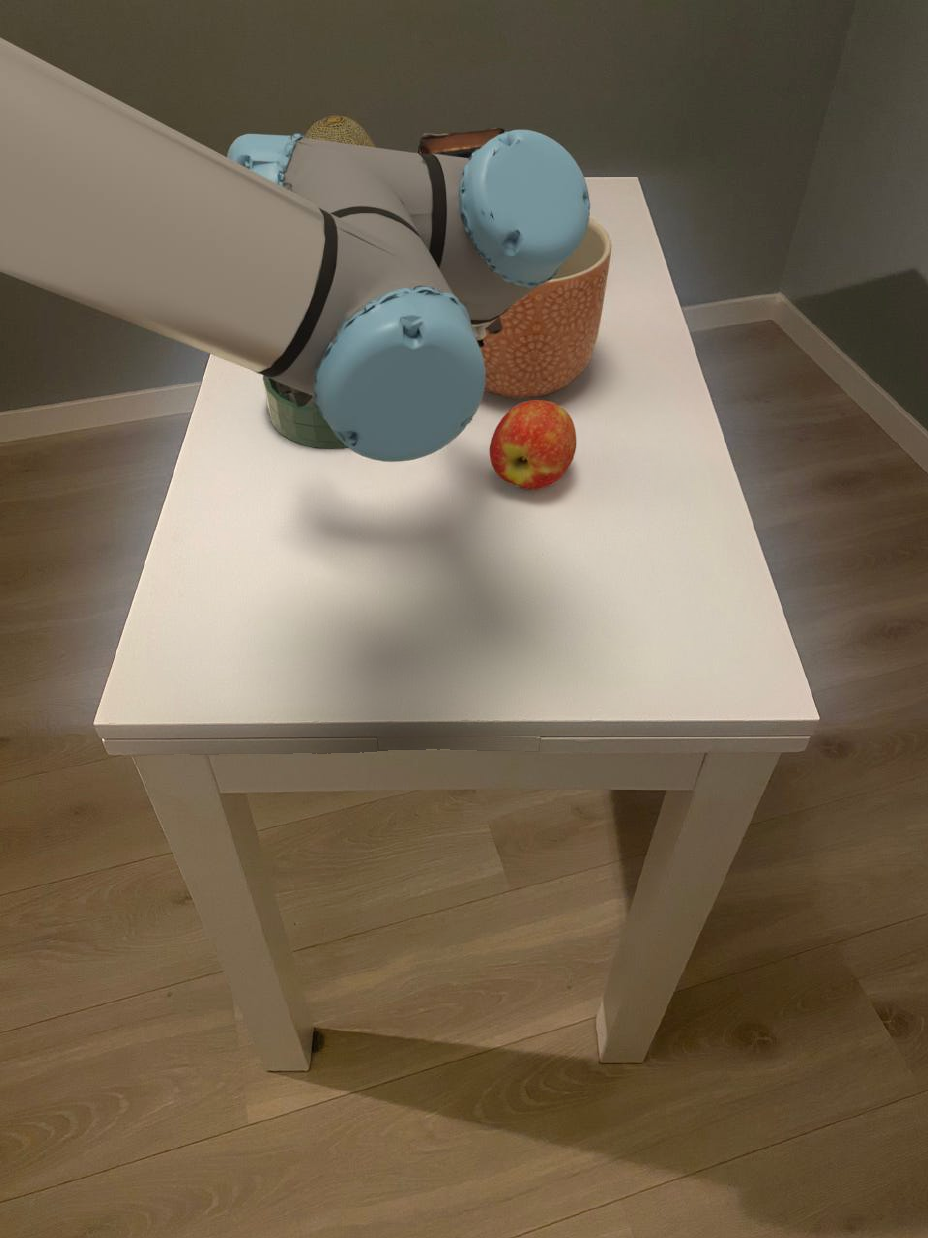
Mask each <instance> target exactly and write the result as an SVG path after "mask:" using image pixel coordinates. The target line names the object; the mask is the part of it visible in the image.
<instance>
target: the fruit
mask: <svg viewBox="0 0 928 1238" xmlns="http://www.w3.org/2000/svg"><path fill="white" fill-rule="evenodd" d="M304 136H305V138H310V139H317V140H324V141H331V142H339V143H346V144H353V145H360V146H368V147H375V148H377V146H376V145H375V143H374V141H373V140H372V138H371V137H370V135H369V133H367V131H366V130H365V129H364V128H363V127H362V126H361V125H360V124H359V123H358V122H357V121H355V120H354V119H352V118H350V117H347V116H342V115H330V116H326V117H323V118H321V119H319V120H318V121H316V122H315V123H313V124H312V126H310V128H309V129H308V131H306V134H305V135H304Z"/></svg>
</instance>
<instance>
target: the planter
mask: <svg viewBox="0 0 928 1238" xmlns="http://www.w3.org/2000/svg"><path fill="white" fill-rule="evenodd" d="M611 255H612V240H611V237H610V236H609V233H608V231H607V230H606V229H605V228H604V227H603V226H602V225H601V224H600V223H598V222H597V221H595V220H594V219H593V218H591V217H589V223H588V227H587V230H586V233H585V236H584V238H583V240H582V242H581V243H580V245H579V247H578V248H577V249H576V251H575V252H574V253H573V254H572V255H571V256H570V257H569V258H568V259H567V261H566V262H565V263H564V264H563V265H562V266H561V267H560V269H559V270H558V271H557V273H556V274H555V276H554V277H553V278H552V279H550V280H549V281H548V282H546V283H543V284H542V285H541V286H537V287H536V288H535V289H533V290H532V291H531V292H529V293H528V294H527V295H525V296H524V297H523V298H521V299H520V300H519V301H517V302H516V303H515V304H513V305H512V306H511V307H510V308H509V309H508V311H506V312H505V313H504V314H502V315H501V316H500V320H501V324H502V328H503V329H502V330H501V331H500V332H499V333H497V334H489V331H488V329H487V330H486V337H485V338H484V339H483V342H484V346H483V347H481V348H480V350H481V352H482V356H483V359H484V363H485V371H486V376H485V388H484V391H486V392H488V393H491V394H494V395H496V396H499V397H506V398H512V399H529V398H538V397H542V396H545V395H549V394H551V393H554V392H556V391H559V390H560V389H562V388H564V387H566V386H568V385H569V384H570V383H572V382H573V381H574V380H575V379H577V378H578V377H579V376H580V375H581V373H582V372H583V371H584V370H585V369H586V367H587V366H588V363H589V362H590V361H591V358H592V356H593V353H594V350H595V346H596V342H597V340H598V337H599V331H600V326H601V320H602V315H603V310H604V302H605V297H606V295H605V294H606V291H607V290H606V289H607V284H608V277H609V270H610V264H611Z"/></svg>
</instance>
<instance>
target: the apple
mask: <svg viewBox="0 0 928 1238" xmlns="http://www.w3.org/2000/svg"><path fill="white" fill-rule="evenodd" d="M576 451H577V433H576V427H575V424H574V421H573V418H572V416H571V415H570V414H569V412H568V411H566V410H565V409H564V408H563V407H562V406H560V405H559V404H557V403H555V402H553V401H549V400H544V399H533V400H527V401H523V402H521V403H519V404H517V405H515V406H514V407H512V408H511V409H510V410H509V411H507V412H506V413H505V414H504V415H503V416H502V418H501V419H500V421H499V422H498V424H497V425H496V427H495V430H494V432H493V434H492V437H491V441H490V446H489V458H490V459H489V460H490V463H491V466H492V467H493V470H494V472H495V473H496V474H497V476H498V477H499V478H500V479H502V480H503V481H504V482H505V483H508V484H511V485H512V486H515V487H517V488H520V489H524V490H540V489H544V488H547V487H549V486H552V485H553V484H555V483H556V482H558V481H559V480H560V479H561V478H562V477H563V476H564V475H565V473H566V472H567V471H568V470H569V468H570V467H571V464H572V463H573V460H574V457H575V454H576Z"/></svg>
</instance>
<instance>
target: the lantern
mask: <svg viewBox="0 0 928 1238" xmlns="http://www.w3.org/2000/svg"><path fill="white" fill-rule="evenodd" d="M505 132H507V131H506V130H505V129H504V128H501V127H494V128H487V129H481V130H475V131H474V130H473V131H462V132H452V133H451V132H450V133H439V134H438V133H437V134H435V133H430V132H426V133H423V136H422V137H421V138H420V139H419V140H418V141H419V144H418V149H417V153H421V154H439V155H447V156H454V157H462V158H469V157H471V156H472V153H473V152H474V151H475V150H476V149H480V148H481V147H482V146H483V145H485V144H486V143H487V142H488V141H489V140H490V139H493V138H494V137H496V136H498V135H500V134H503V133H505Z"/></svg>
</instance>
